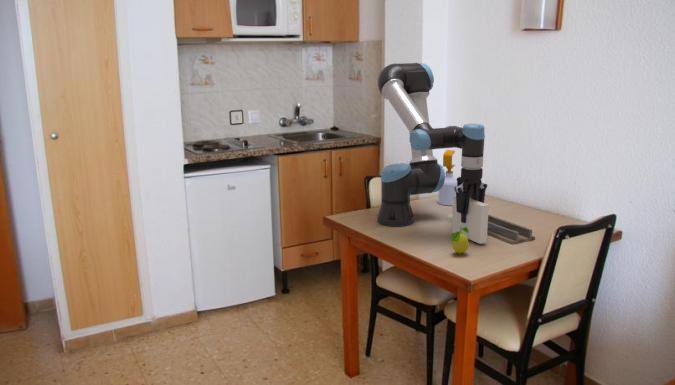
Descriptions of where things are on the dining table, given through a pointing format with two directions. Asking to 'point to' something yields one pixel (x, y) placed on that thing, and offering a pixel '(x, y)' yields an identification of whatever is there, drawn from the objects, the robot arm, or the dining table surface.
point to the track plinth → (508, 231)
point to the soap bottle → (448, 181)
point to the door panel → (472, 221)
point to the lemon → (460, 241)
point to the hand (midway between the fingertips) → (469, 230)
